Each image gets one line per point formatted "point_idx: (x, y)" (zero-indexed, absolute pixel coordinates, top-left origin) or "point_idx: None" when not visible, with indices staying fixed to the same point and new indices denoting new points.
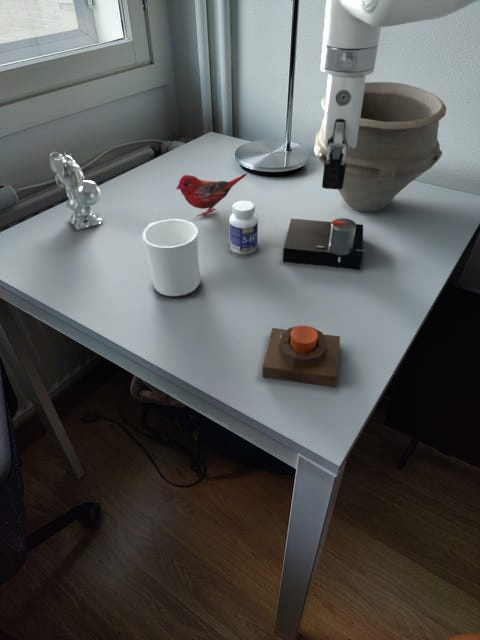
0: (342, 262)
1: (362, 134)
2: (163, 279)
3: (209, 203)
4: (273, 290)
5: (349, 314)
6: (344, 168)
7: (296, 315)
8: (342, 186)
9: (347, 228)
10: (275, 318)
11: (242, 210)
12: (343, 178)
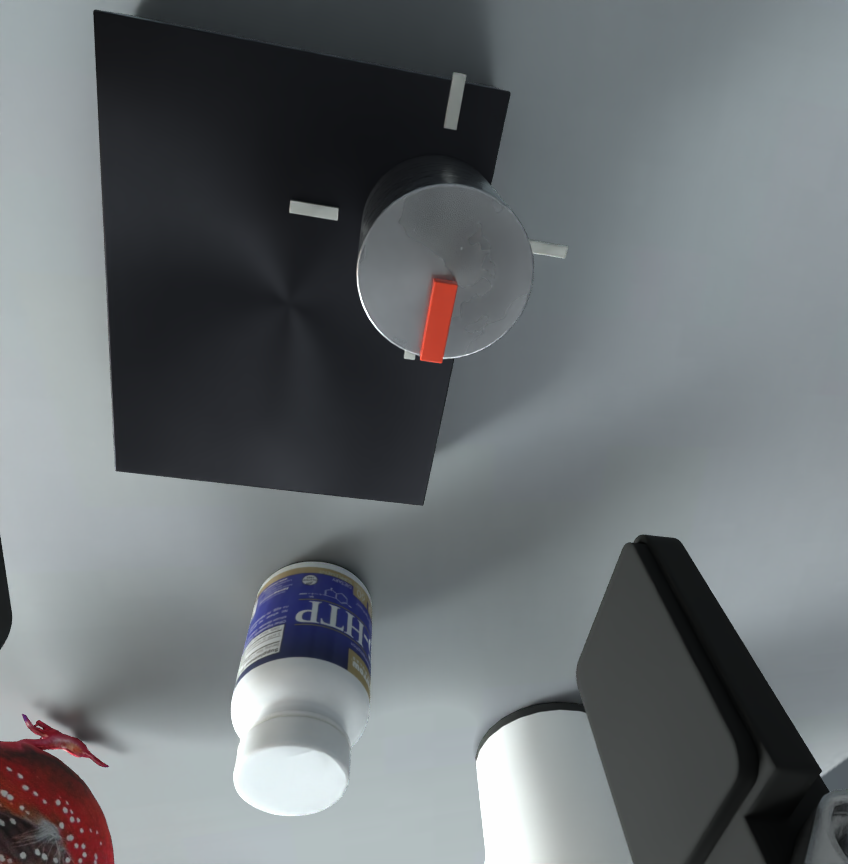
0: None
1: None
2: None
3: (58, 779)
4: (616, 495)
5: (837, 205)
6: (784, 729)
7: (784, 419)
8: (683, 552)
9: (510, 260)
10: (781, 487)
11: (346, 783)
12: (726, 620)
